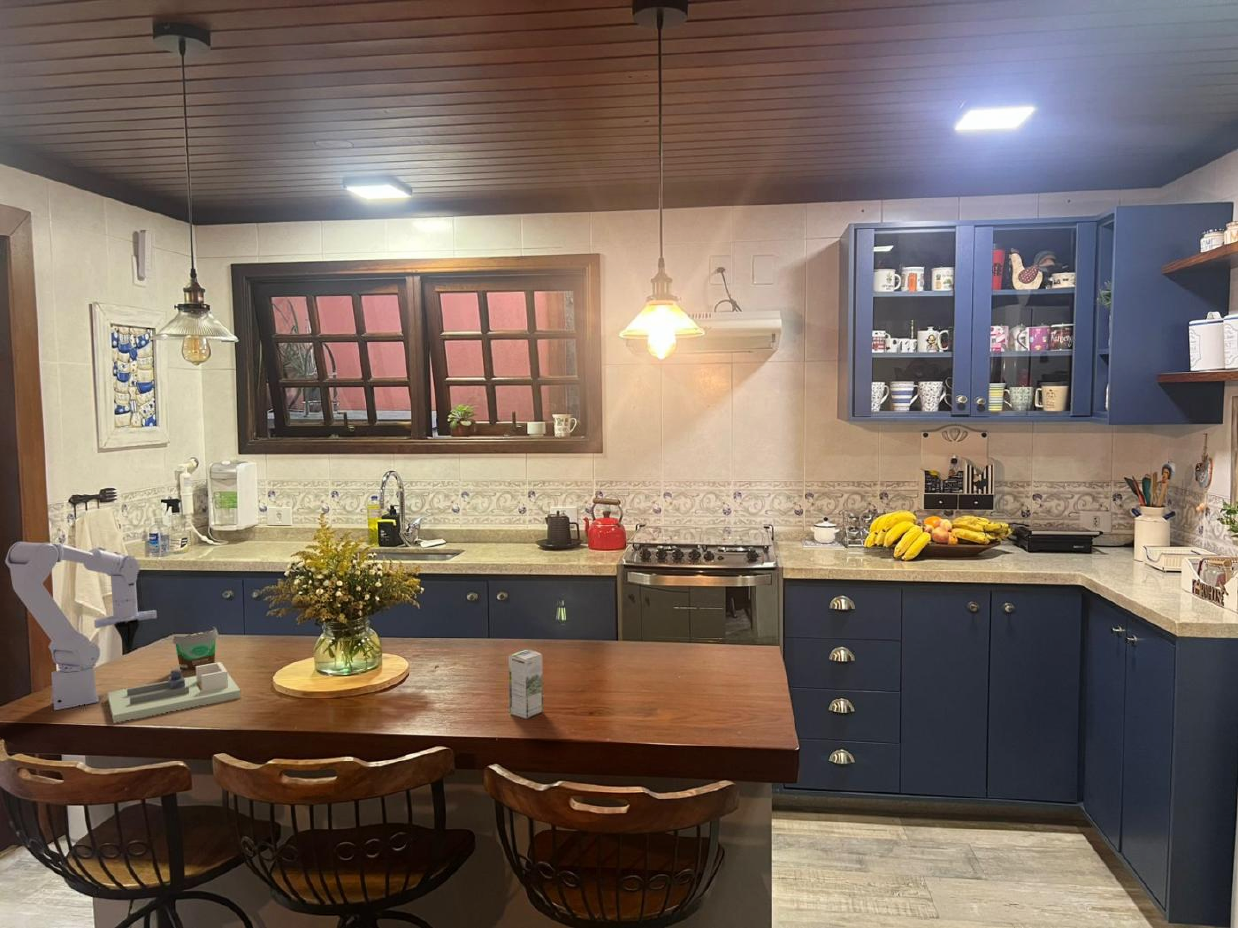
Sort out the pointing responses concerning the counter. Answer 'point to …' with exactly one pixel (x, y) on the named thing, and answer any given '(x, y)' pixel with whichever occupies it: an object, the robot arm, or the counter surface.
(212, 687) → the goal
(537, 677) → the syrup box
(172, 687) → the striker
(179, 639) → the food container
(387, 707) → the counter surface
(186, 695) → the board
